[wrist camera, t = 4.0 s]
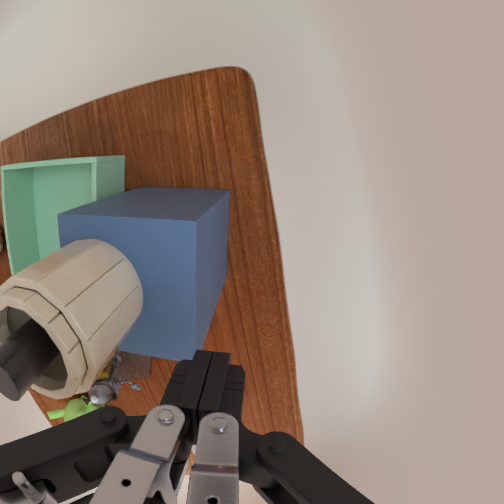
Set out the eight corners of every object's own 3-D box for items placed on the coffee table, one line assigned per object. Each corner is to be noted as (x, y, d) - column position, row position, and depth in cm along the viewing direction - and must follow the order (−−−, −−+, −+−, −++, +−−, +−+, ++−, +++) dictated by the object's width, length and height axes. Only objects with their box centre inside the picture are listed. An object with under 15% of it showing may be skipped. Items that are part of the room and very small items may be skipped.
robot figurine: (107, 376, 42) (74, 428, 31) (80, 327, 39) (36, 374, 28) (166, 371, 40) (139, 432, 29) (139, 316, 38) (99, 372, 26)
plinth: (143, 186, 33) (56, 214, 18) (230, 189, 32) (196, 220, 17) (145, 269, 36) (76, 340, 21) (226, 277, 36) (197, 363, 20)
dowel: (77, 272, 18) (-24, 351, 9) (107, 276, 18) (7, 366, 9) (82, 304, 19) (-6, 391, 9) (111, 309, 19) (26, 408, 9)
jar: (53, 235, 18) (-29, 277, 10) (140, 242, 18) (66, 299, 10) (67, 323, 20) (8, 384, 13) (148, 339, 20) (100, 420, 12)
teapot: (94, 382, 43) (72, 415, 35) (135, 427, 46) (120, 461, 38) (59, 392, 45) (39, 420, 37) (97, 432, 48) (81, 462, 40)
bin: (32, 161, 32) (0, 165, 26) (125, 155, 32) (96, 156, 26) (43, 280, 37) (16, 298, 31) (129, 293, 37) (107, 318, 31)
